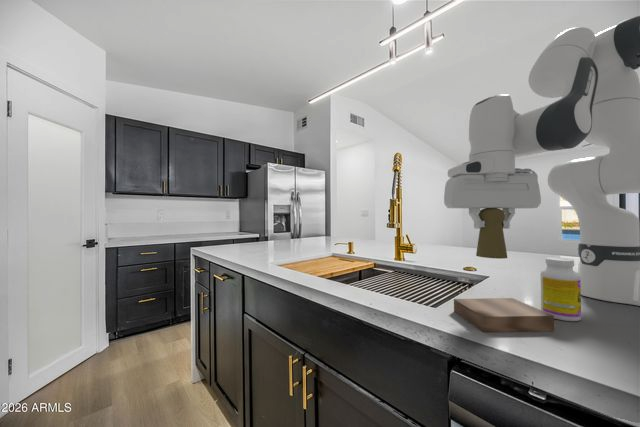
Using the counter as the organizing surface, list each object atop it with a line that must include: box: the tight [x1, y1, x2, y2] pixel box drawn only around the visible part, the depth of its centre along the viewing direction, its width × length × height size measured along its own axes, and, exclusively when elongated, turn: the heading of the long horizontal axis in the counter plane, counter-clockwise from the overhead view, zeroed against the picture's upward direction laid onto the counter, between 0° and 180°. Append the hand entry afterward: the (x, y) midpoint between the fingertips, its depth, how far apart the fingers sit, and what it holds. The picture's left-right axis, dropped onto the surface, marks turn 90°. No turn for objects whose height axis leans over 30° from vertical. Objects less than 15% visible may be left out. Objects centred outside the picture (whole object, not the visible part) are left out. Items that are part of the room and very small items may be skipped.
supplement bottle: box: [540, 257, 582, 322], centre depth 59 cm, size 7×7×13 cm
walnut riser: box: [453, 297, 555, 333], centre depth 57 cm, size 14×11×3 cm
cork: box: [475, 208, 508, 260], centre depth 60 cm, size 6×6×11 cm
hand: (491, 228), depth 60 cm, fingers closed on cork, 4 cm apart
